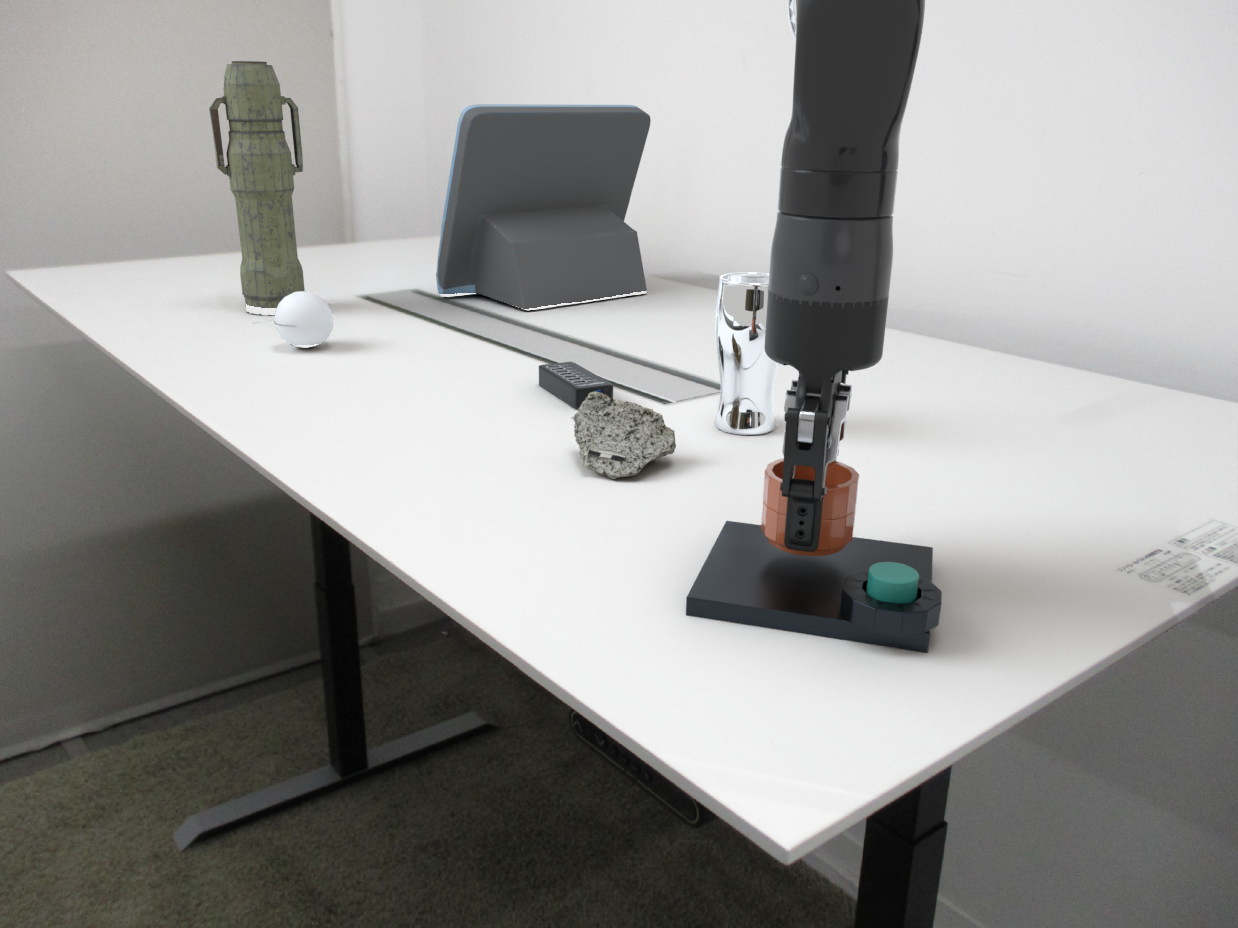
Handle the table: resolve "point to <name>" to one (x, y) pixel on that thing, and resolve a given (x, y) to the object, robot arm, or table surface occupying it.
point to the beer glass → (744, 355)
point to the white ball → (303, 319)
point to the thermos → (261, 180)
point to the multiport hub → (572, 382)
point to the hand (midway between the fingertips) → (807, 527)
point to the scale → (814, 590)
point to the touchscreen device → (542, 204)
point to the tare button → (892, 582)
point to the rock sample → (620, 435)
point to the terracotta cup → (834, 509)
